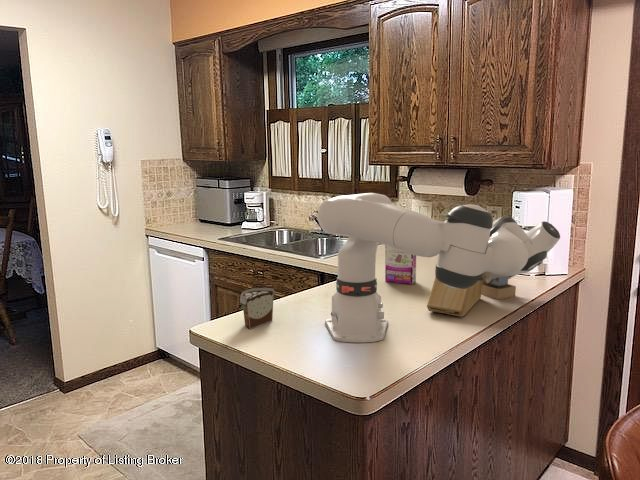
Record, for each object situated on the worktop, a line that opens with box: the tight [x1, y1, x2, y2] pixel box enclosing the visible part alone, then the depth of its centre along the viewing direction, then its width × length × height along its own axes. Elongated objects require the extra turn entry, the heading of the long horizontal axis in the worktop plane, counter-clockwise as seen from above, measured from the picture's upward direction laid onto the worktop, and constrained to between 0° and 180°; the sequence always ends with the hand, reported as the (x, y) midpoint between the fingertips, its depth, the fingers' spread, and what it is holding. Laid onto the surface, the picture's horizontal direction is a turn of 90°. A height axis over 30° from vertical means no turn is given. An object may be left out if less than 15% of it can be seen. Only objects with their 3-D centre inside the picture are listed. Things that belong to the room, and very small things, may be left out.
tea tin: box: [488, 276, 509, 289], centre depth 186 cm, size 5×5×10 cm
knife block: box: [426, 276, 482, 317], centre depth 176 cm, size 11×35×31 cm, turn 149°
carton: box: [481, 273, 517, 300], centre depth 186 cm, size 8×8×10 cm
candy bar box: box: [384, 245, 417, 286], centre depth 204 cm, size 11×5×16 cm, turn 62°
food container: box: [239, 287, 276, 330], centre depth 160 cm, size 12×6×10 cm, turn 141°
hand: (497, 279), depth 186 cm, fingers open, 8 cm apart
